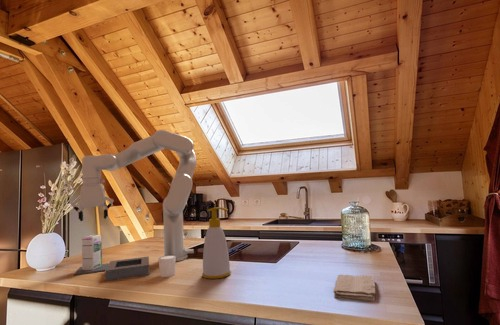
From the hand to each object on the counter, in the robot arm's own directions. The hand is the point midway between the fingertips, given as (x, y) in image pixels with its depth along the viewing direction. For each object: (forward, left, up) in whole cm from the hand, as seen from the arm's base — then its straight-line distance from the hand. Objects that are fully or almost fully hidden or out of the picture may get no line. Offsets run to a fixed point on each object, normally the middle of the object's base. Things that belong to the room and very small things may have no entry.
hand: (93, 219), depth 131 cm
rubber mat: (+1, 0, -22) cm, 22 cm away
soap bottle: (-48, +36, -23) cm, 64 cm away
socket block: (-15, +14, -22) cm, 30 cm away
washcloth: (-84, +73, -23) cm, 114 cm away
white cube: (-30, +26, -23) cm, 46 cm away
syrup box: (+1, 0, -22) cm, 22 cm away
